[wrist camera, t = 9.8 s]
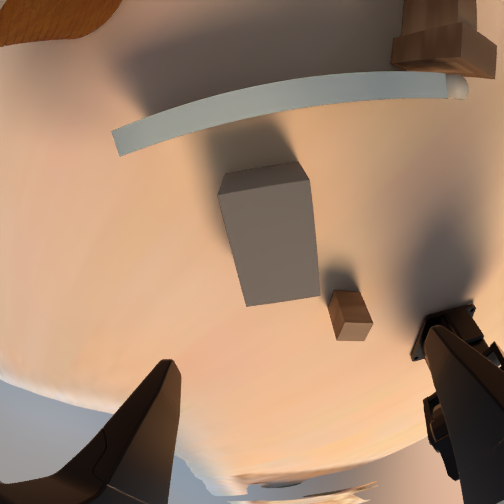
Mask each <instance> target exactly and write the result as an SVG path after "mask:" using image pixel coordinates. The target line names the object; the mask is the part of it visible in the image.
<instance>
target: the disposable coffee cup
mask: <svg viewBox="0 0 504 504" xmlns="http://www.w3.org/2000/svg"><path fill="white" fill-rule="evenodd" d="M121 1H122V0H0V47H3V46H4V45H6V46H8V45H12V44H19V43H27V42H35V41H45V40H57V39H76V38H80V37H83V36H85V35H87V34H89V33H91V32H93V31H94V30H96V29H97V28H99V27H100V26H101V25H102V24H104V23H105V22H106V21H107V20H108V19H109V18H110V17H111V16H112V14H113V13H114V12H115V10H116V9H117V8H118V6H119V4H120V3H121Z"/></svg>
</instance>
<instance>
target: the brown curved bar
mask: <svg viewBox="0 0 504 504" xmlns="http://www.w3.org/2000/svg"><path fill="white" fill-rule="evenodd" d="M496 55H497V45H495V44H494V43H493V42H491V41H490V40H489V39H487V38H486V37H484V36H483V35H482V34H480V33H479V32H477V8H476V0H404V8H403V22H402V34H401V37H398V38H395V39H394V40H393V49H392V57H391V64H393V65H395V66H398V67H401V68H403V69H406V70H408V71H414V72H435V73H445V74H459V75H461V76H464V77H478V78H488V79H495V71H496ZM328 310H329V314H330V318H331V321H332V325H333V329H334V332H335V336H336V340H337V341H364V340H365V339H366V337H367V335H368V333H369V331H370V329H371V327H372V325H373V321H372V319H371V316H370V314H369V312H368V309H367V307H366V305H365V302H364V300H363V298H362V295H361V293H360V292H351V291H338V290H334V292H333V295H332V298H331V301H330V304H329V306H328Z"/></svg>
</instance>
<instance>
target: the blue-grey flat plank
mask: <svg viewBox="0 0 504 504" xmlns="http://www.w3.org/2000/svg"><path fill="white" fill-rule="evenodd" d="M468 92H469V87H468V83H467V81H466V80H465V78H464V77H463V76H461V75H459V74H445V73H435V72H414V71H377V72H355V73H341V74H330V75H321V76H312V77H305V78H298V79H291V80H285V81H279V82H273V83H268V84H263V85H258V86H253V87H248V88H244V89H239V90H235V91H231V92H227V93H223V94H219V95H215V96H211V97H208V98H204V99H201V100H197V101H194V102H190V103H187V104H184V105H181V106H178V107H174V108H171V109H168V110H166V111H163V112H160V113H157V114H154V115H151V116H149V117H146V118H143V119H141V120H138V121H135V122H133V123H130V124H128V125H125V126H123V127H121V128H118V129H116V130H113V131H111V132H112V135H113V138H114V141H115V144H116V147H117V150H118V153H119V156H120V157H121V156H123V155H126V154H129V153H131V152H134V151H137V150H139V149H142V148H145V147H148V146H151V145H154V144H157V143H160V142H163V141H166V140H169V139H172V138H175V137H179V136H182V135H185V134H189V133H192V132H196V131H199V130H203V129H206V128H210V127H214V126H218V125H222V124H226V123H230V122H234V121H238V120H242V119H247V118H251V117H256V116H261V115H266V114H271V113H276V112H282V111H287V110H293V109H299V108H306V107H312V106H319V105H327V104H335V103H344V102H355V101H366V100H381V99H404V98H444V99H449V98H454V99H461V100H462V99H465V98H466V97H467V95H468Z"/></svg>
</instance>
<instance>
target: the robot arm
mask: <svg viewBox="0 0 504 504" xmlns="http://www.w3.org/2000/svg"><path fill="white" fill-rule="evenodd" d="M475 309H476V307H475V306H474V304H470V305H467V306H463V307H459V308H456V309H452V310H448V311H444V312H440V313H436V314H431V315H428V316H427V317H426V318H425V319H424V321H423V325H422V328H421V330H420V333H419V336H418V339H417V342H416V345H415V347H414V350H413V353H412V355H411V359H412V361H418V360H421V359H425V360H426V363H427V365H428V367H429V369H430V371H431V375H432V379H433V383H434V386H435V389H436V392H435V393H433V394H432V395H431V396H429V397H426V398H425V399H424V400H423V404H424V413H425V419H426V426H427V433H428V440H429V443H430V445H432V446H433V447H434V449H435V450H436V451H437V452H438V453H439V454H440V455H441V456H442V458H443V461H444V464H445V467H446V470H447V474H448V476H449V477H451V478H452V479H453V480H455V481H458V480H460V483H461V489H462V495H463V501H464V504H504V352H503V351H502V350H501V349H500V347H499V346H498V345H497V344H496V342H495V341H494V342H493V343H492V344H491V345H490V347H488V345H487V344H486V342H485V340H484V339H483V338H484V335H483V333H482V332H481V330H480V329H479V327H478V326H477V324H476V323H475V321H474V320H473V318H472V317H473V314H474V312H475ZM500 364H501V367H500V368H499V367H498V366H499V365H500ZM180 398H181V373H180V371H179V369H178V368H177V366H176V364H175V362H174V361H173V360H172V359H162V360H161V361H160V362H159V363H158V364H157V365H156V366H155V367H154V369H153V370H152V371H151V372H150V373H149V374H148V376H147V377H146V378H145V379H144V380H143V381H142V383H141V384H140V385H139V386H138V387H137V388H136V390H135V391H134V392H133V393H132V394H131V395H130V396H129V398H128V399H127V400H126V401H125V402H124V403H123V405H122V406H121V407H120V408H119V409H118V410H117V412H116V413H115V414H114V415H113V416H112V418H111V419H110V420H109V421H108V422H107V423H106V424H105V426H104V427H103V428H102V429H101V430H100V431H99V432H98V434H97V435H96V436H95V437H94V438H93V439H92V440H91V441H90V442H89V443H88V444H87V445H86V447H84V448H83V449H82V450H81V451H80V452H79V453H78V454H77V455H76V456H75V457H74V458H73V459H72V460H70V461H69V462H68V463H67V464H66V465H65V466H64V467H63V468H62V469H60V470H59V471H58V472H57V473H55V474H53V475H50V476H48V477H44V478H39V479H34V480H29V481H24V482H18V483H12V484H4V483H2V482H1V481H0V504H168V496H169V488H170V480H171V472H172V464H173V457H174V451H175V444H176V437H177V431H178V424H179V417H180Z"/></svg>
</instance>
